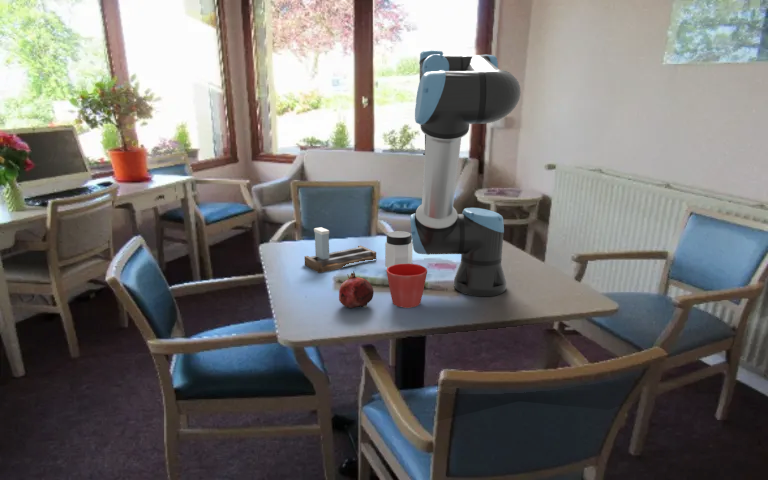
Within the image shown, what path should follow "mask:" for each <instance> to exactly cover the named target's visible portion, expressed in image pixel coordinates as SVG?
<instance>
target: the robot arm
mask: <svg viewBox="0 0 768 480" xmlns="http://www.w3.org/2000/svg"><path fill="white" fill-rule="evenodd" d="M418 63H419V83H418V86H417V93H416V99H415V107H414V121H415V123H416V124H417V125H418V124H419V126H420V130H421V132H422V133H423V134H424V153H422V156H424V163H423V177H422V178H423V179H422V180H423V182H422V194H421V195H422V196H421V197H422V198H421V204H420V205H419V206H418V207H417V209H416V210H415V213H412V214H411V215H410V216H409V218H410V219H409V220H410V222H409V223H410V231H411V234H412V243H413V247H412V250H413V251H414V252H415V253H416V254H419V255H427V256H428V255H460V263H459V265H458V267H457V271H456V273H455V276H454V280H453V286H454V285H455V287H454V289H455V290H456V291H458V292H460V293H461V294H465V295H469V296H473V297H474V296H475V297H495V296H499V295H501V294H503V293H505V292H506V290H507V280H506V276H505V273H504V269H503V265H502V260H503V259H502V258H503V257H502V256H503V243H504V242H503V241H504V233H505V228H504V227H505V226H504V225H505V224H504V223H505V222H504V217H503V215H501V214H500V213H498V212H496V211H493V210H489V209H485V208H480V207H466V208H464V209H463V210H462V213H458V211H457V209H456V208H455V207H454V201H455V192H456V186H457V185H456V184H457V177H458V169H459V158H460V150H461V144H462V143H461V142H462V138H463V137H465V136H466V135H467V134H468V133H469V131H470V130H469V129H470V125H477V124H480V125H481V124H484V125H485V124H489V123H495V122H497V121H498V122H499V121H500V120H502V119H504V118H506V117H507V116H508V115H509V114H511V113H512V112H513V111H514V109H515V108H516V107H517V105H518V103H519V102H520V98H521V86H520V83H519V81H518V79H517V78H516V76H515V75H513V74H512V73H511V72H509V71H507V70H503V69H499V67H498V66H499V65H498V64H499V63H498V58H497V57H496V55H492V54H486V53H485V54H469V55H467V54H465V55H464V54H444V52H443V51H442V50H432V49H431V50H422V51H421V52H420V53H419V61H418Z"/></svg>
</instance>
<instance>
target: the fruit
mask: <svg viewBox="0 0 768 480" xmlns="http://www.w3.org/2000/svg"><path fill="white" fill-rule="evenodd" d="M374 291H375V290H374V288H373V286H372V284H371V283H370V282H369V281H368V280H367V279H365V278H362V277H358V276H356V273H355V271H354V270H353V272H351V273H350V275H349V273H348V274H347V279H346V280H344V281H343V282H342V283H341V284H340V287H339V289H338V300H339V302H340V304H341V305H343V307H345V308H349V309H356V308H358V309H359V308H365V309H367V308H369V307H368V304H369V303H370V302H371V301H372V300H373V298H374Z"/></svg>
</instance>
